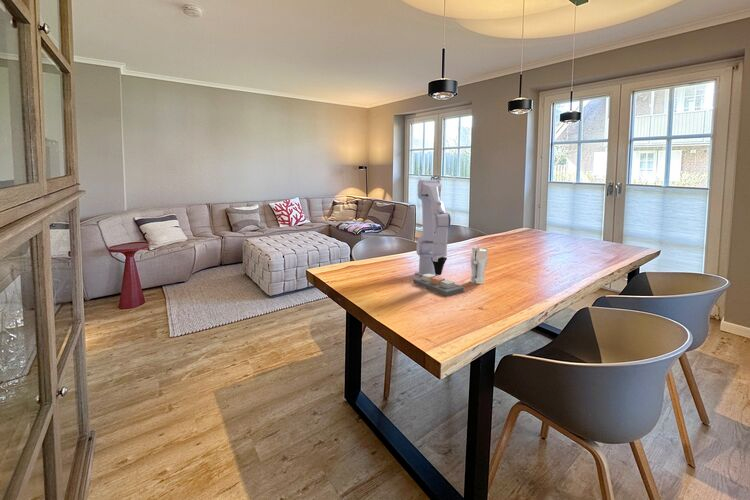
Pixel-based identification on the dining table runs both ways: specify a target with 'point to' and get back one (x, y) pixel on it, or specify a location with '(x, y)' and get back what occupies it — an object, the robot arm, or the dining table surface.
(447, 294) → the key board
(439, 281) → the terracotta key
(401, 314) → the dining table surface
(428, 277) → the cream key
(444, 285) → the grey key
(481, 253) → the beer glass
